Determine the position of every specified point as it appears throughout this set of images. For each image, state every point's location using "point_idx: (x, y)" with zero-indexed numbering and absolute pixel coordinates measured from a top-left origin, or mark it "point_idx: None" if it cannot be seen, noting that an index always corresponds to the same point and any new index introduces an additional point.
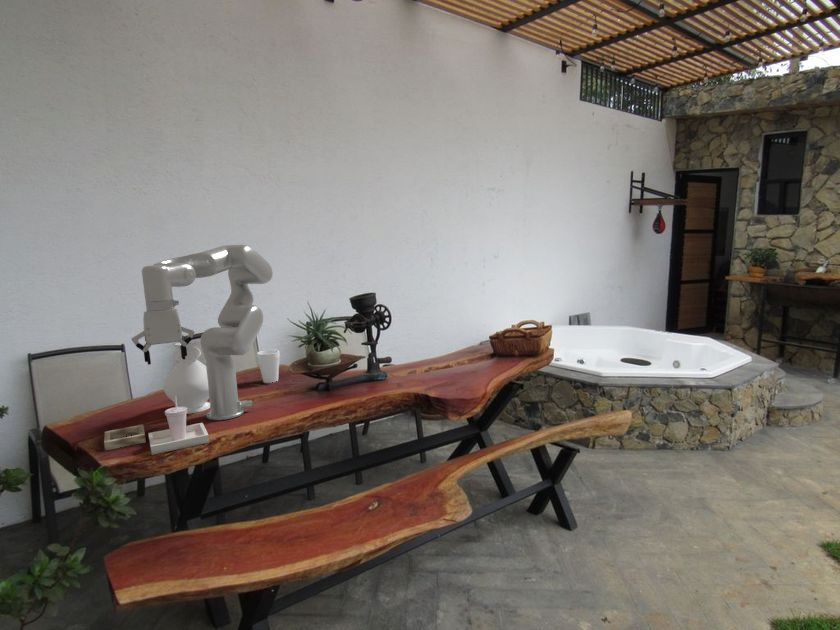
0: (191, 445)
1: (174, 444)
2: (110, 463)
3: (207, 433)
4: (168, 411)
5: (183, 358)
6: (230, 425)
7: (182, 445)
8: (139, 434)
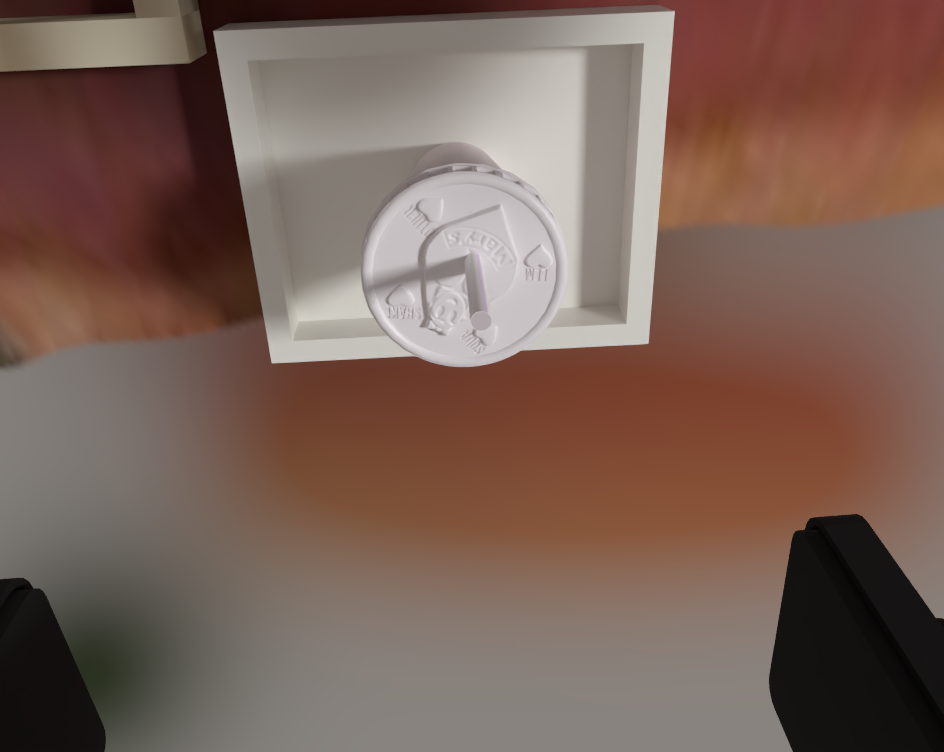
0: None
1: None
2: (43, 344)
3: (648, 312)
4: (395, 295)
5: (787, 704)
6: (873, 25)
7: None
8: (138, 23)
